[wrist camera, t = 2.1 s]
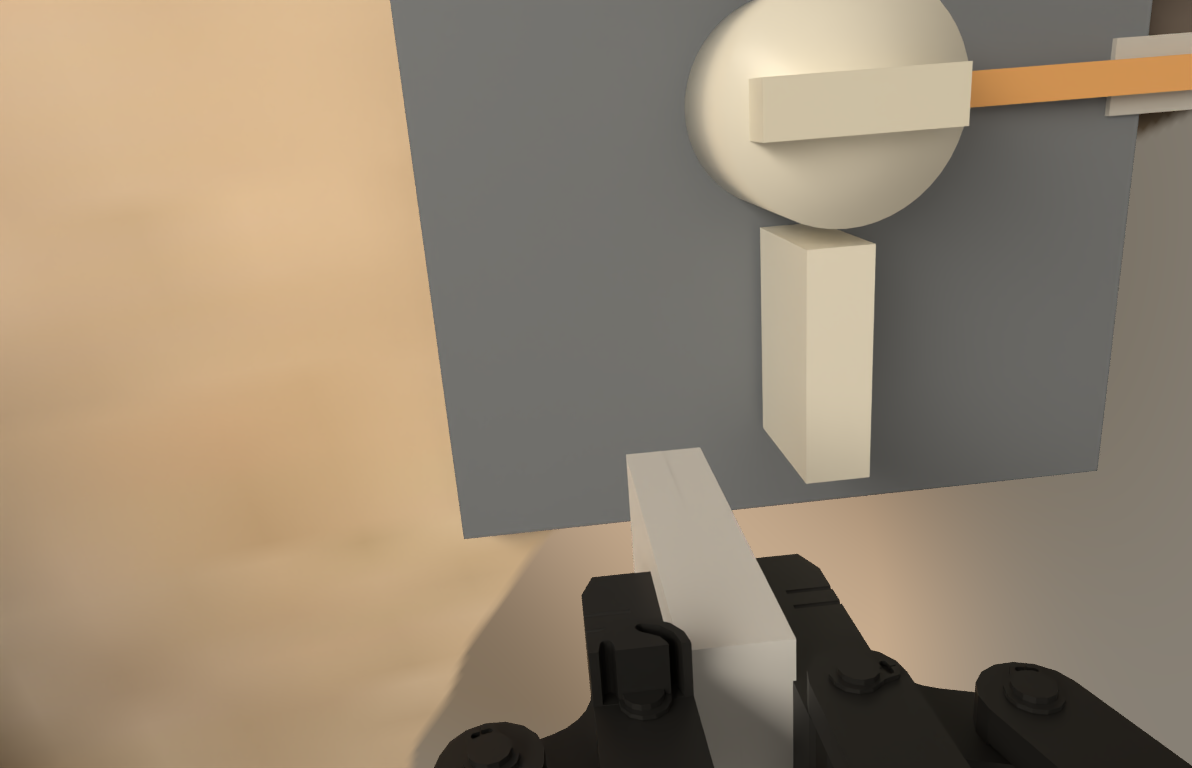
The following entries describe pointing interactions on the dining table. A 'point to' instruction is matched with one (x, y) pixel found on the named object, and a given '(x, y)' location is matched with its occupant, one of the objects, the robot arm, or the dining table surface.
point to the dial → (848, 176)
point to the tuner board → (747, 260)
